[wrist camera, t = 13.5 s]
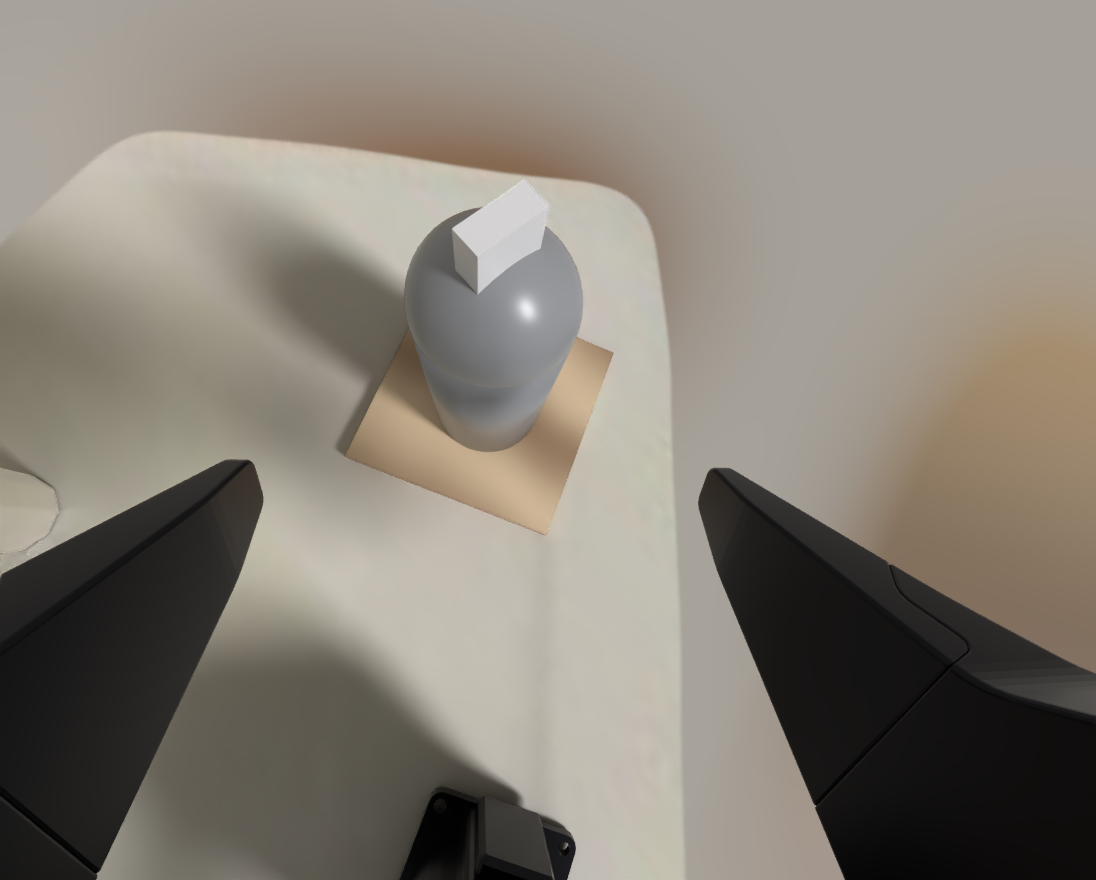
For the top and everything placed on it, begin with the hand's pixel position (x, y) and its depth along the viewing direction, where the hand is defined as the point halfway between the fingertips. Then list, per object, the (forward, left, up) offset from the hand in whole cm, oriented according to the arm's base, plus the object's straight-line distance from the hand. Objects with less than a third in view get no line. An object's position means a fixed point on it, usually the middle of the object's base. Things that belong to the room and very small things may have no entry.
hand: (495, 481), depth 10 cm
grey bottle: (+5, +2, -13) cm, 14 cm away
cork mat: (+5, +2, -14) cm, 15 cm away
